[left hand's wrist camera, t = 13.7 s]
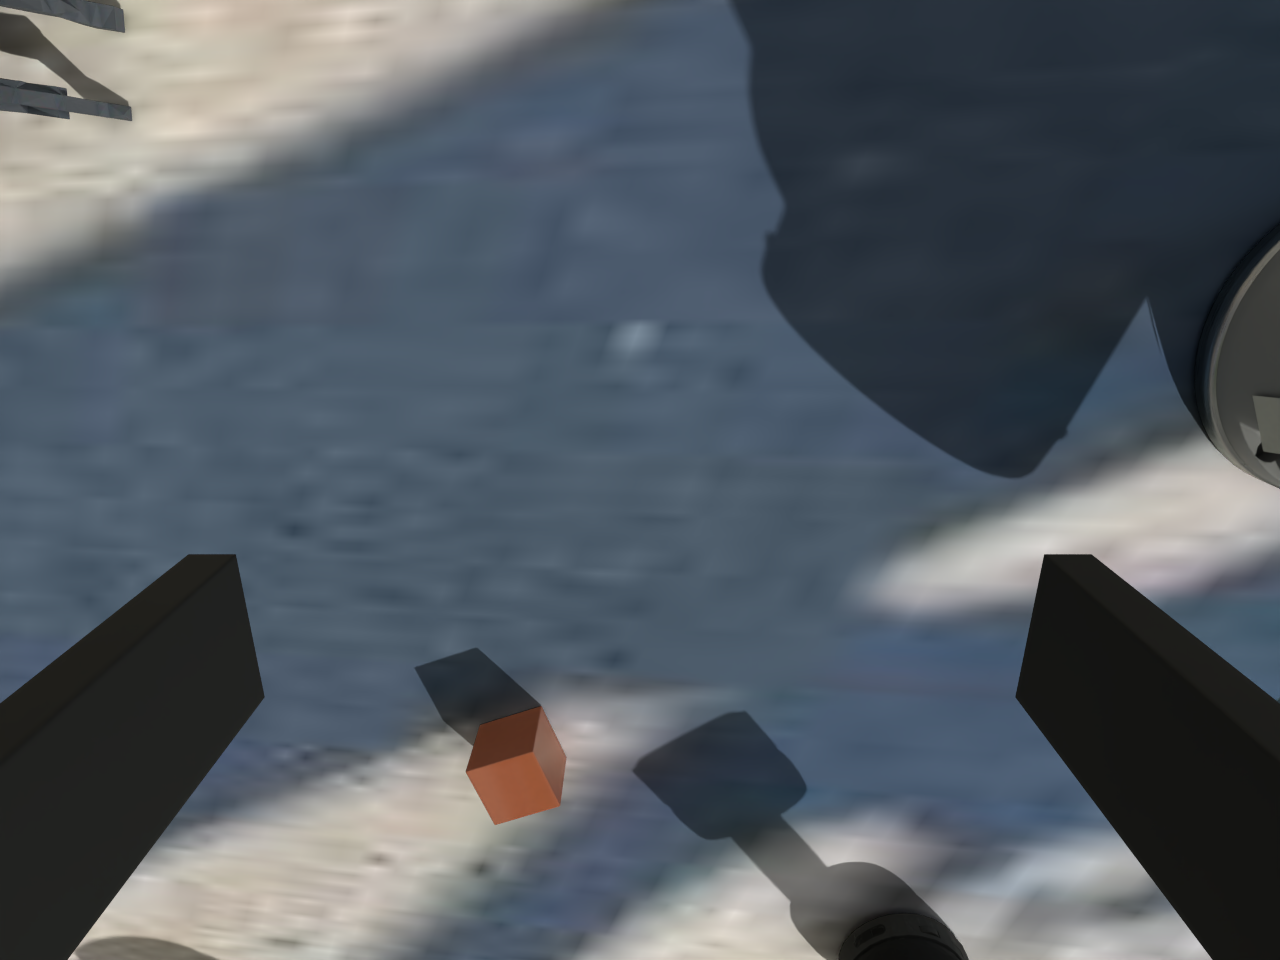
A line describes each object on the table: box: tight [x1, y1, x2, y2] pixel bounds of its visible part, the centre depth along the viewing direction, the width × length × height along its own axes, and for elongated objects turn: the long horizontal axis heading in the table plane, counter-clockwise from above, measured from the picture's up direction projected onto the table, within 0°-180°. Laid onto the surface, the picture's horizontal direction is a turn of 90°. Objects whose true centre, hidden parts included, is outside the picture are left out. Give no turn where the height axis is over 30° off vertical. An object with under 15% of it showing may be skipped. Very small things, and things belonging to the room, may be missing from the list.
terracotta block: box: [466, 706, 566, 825], centre depth 44 cm, size 4×4×4 cm
